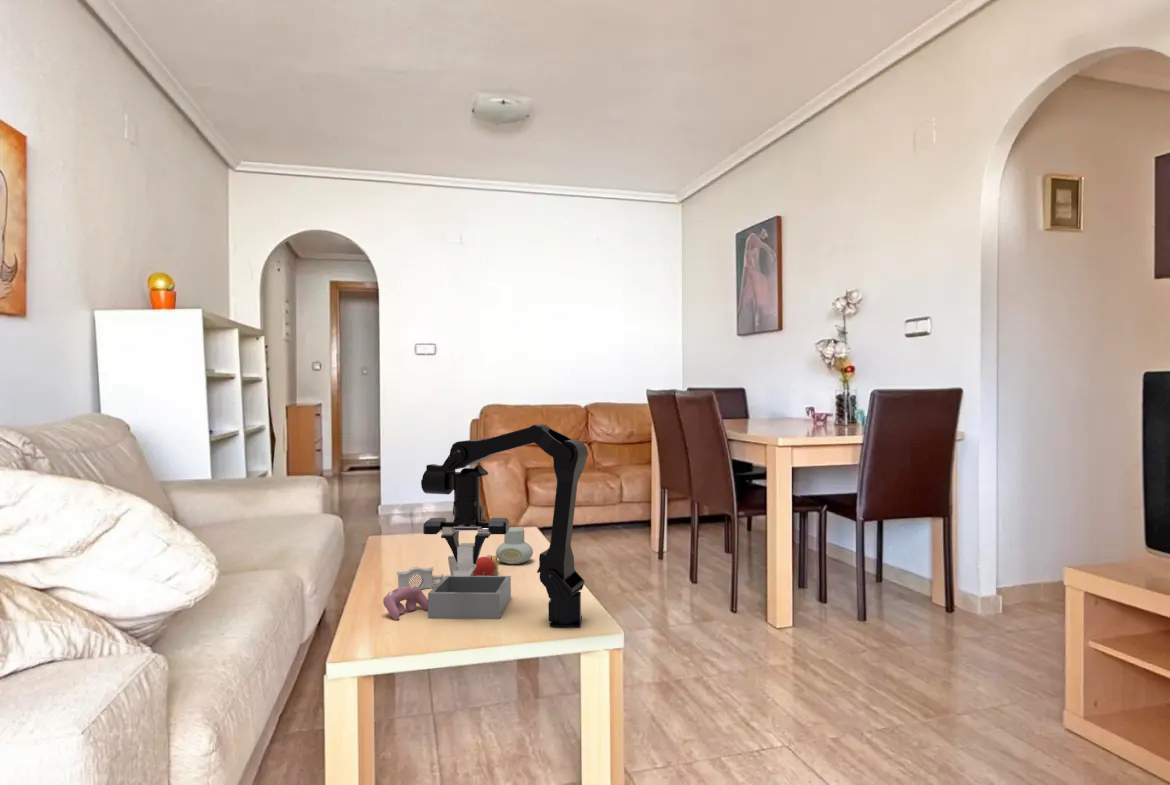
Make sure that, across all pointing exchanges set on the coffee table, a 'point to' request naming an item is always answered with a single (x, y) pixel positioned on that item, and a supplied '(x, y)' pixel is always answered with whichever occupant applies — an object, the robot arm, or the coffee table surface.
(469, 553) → the grey stepped block
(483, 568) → the kendama
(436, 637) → the coffee table surface
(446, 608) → the open box
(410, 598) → the video game controller
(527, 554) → the air freshener
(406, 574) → the garden wall model
